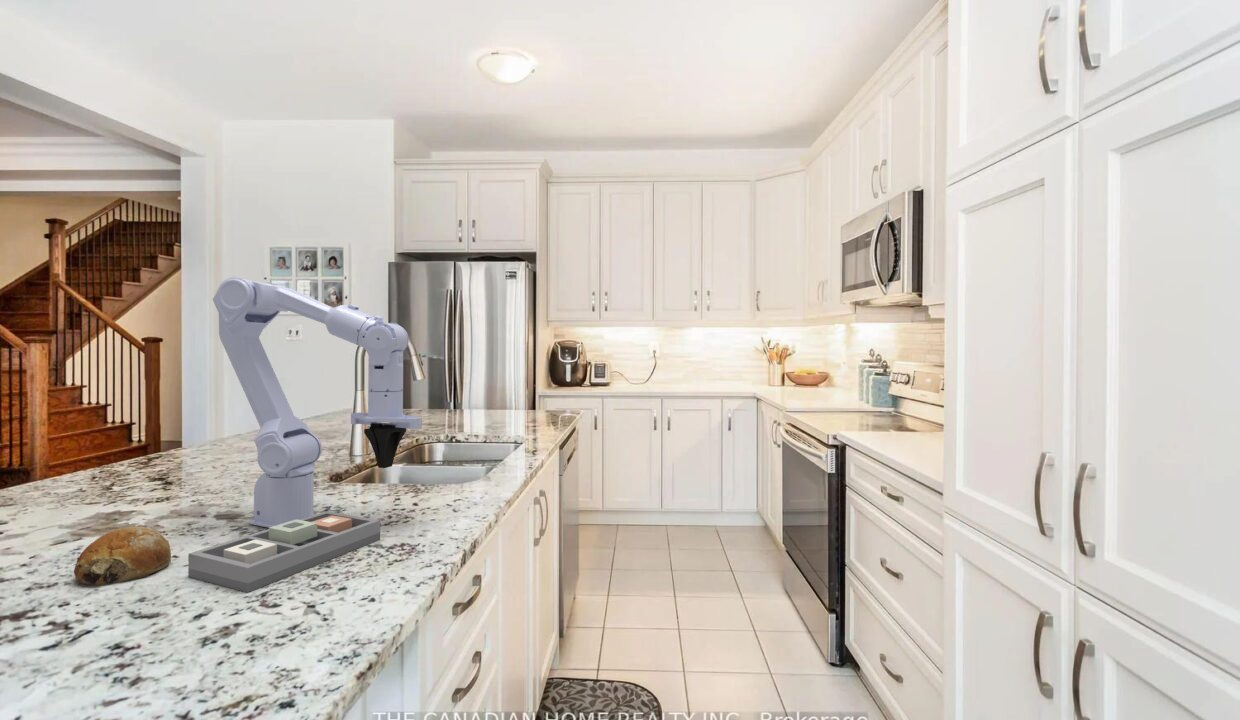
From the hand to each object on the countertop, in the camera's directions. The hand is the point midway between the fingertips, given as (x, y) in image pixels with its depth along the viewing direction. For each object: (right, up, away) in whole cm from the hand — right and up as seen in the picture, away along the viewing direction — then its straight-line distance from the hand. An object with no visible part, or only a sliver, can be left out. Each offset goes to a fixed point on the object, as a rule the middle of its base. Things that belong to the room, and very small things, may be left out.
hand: (385, 466), depth 100 cm
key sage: (-8, -8, -15) cm, 19 cm away
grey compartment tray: (-8, -11, -15) cm, 20 cm away
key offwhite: (-10, -9, -21) cm, 25 cm away
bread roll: (-27, -11, -22) cm, 36 cm away
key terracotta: (-5, -9, -9) cm, 14 cm away
